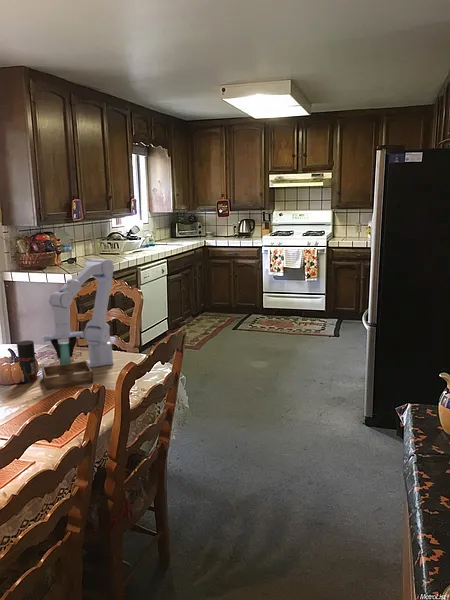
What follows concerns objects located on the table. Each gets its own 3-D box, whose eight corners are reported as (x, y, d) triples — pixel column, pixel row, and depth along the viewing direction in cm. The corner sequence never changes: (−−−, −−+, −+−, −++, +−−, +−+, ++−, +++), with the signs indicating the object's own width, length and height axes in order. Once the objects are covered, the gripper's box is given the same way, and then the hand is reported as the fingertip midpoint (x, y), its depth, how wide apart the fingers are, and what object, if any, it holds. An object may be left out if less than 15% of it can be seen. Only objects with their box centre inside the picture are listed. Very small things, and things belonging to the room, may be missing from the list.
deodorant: (32, 383, 199) (28, 345, 196) (17, 382, 200) (13, 344, 197) (40, 377, 205) (36, 340, 201) (26, 376, 206) (22, 340, 202)
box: (87, 371, 211) (86, 360, 210) (93, 382, 198) (92, 371, 198) (42, 377, 204) (41, 367, 203) (46, 390, 192) (45, 378, 191)
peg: (69, 361, 206) (68, 341, 204) (71, 364, 202) (70, 344, 201) (59, 363, 204) (57, 343, 202) (60, 365, 200) (59, 345, 199)
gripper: (43, 327, 193) (46, 362, 196) (83, 323, 199) (85, 357, 202) (41, 323, 199) (44, 357, 202) (80, 319, 205) (82, 352, 208)
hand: (64, 357), depth 202 cm, fingers closed on peg, 4 cm apart
